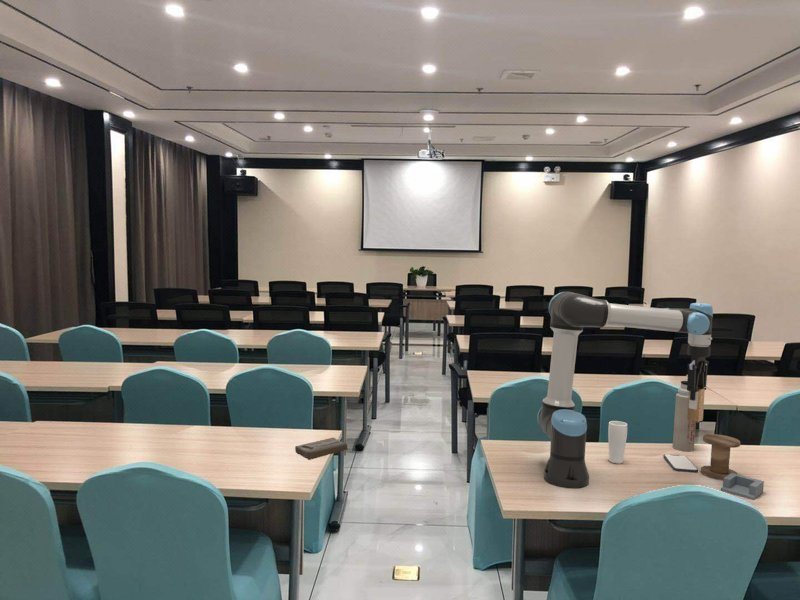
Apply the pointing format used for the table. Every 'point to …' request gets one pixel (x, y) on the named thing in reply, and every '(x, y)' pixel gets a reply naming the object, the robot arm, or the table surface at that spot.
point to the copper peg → (697, 414)
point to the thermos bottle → (683, 422)
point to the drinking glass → (617, 441)
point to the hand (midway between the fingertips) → (695, 407)
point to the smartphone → (680, 463)
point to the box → (320, 448)
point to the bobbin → (719, 455)
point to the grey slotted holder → (742, 486)
